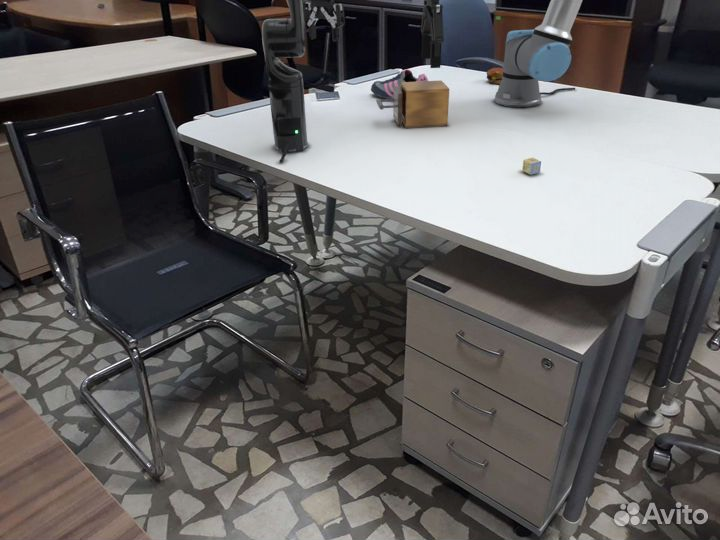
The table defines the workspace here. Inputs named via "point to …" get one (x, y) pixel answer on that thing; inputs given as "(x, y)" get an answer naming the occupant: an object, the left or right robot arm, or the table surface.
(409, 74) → the running shoe
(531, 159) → the alphabet block
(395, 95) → the drawer
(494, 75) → the burger
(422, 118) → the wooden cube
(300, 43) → the left robot arm
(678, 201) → the table surface
